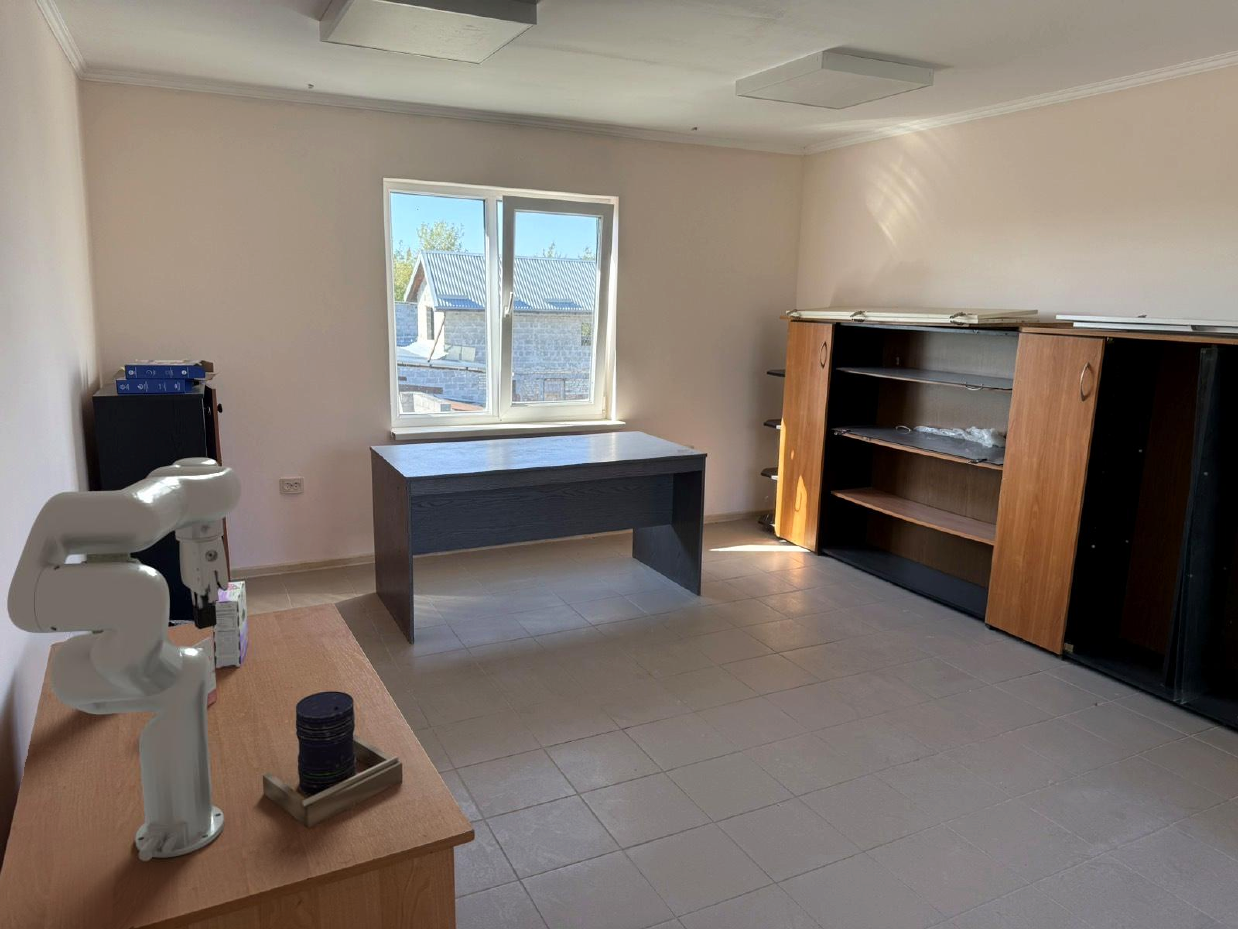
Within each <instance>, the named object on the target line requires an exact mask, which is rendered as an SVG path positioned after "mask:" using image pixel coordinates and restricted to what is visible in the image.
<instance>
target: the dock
mask: <svg viewBox="0 0 1238 929" xmlns="http://www.w3.org/2000/svg"><path fill="white" fill-rule="evenodd" d="M353 744H354V747H355V753H356V755H355V756H356V760H359V761H361V762H362V763H364V764H366V765H367V766H369V768H368V769H366V770H364V771H361V772H359V773H357V774H356V775H355V776H353V777H351V778H349V779H347V780H345V781H343V782H341V783H339V784H337V785H335V786H332V787H330V788H328V789H326V790H324V791H322V792H320V793H318V794H316V795H314V796H312V795H311V796H310V797H308V798H306V797H304V796H303V795H301V794H300V793H299V792H297V791H295V790H294V789H292V788H291V787H290V786H289V785H287V784H286V783H285V782H283V781H282V780H281V779H279V778H278V777H276V776H275V775H273V774H272V773H271V772H266V773H265V774H263V775H262V784H263V785H262V786H263V791H262V792H263V794H264V795H265V796H266V797H268V798H269V800H272V801H273V802H274V803H276V804H277V805H278V807H281V808H282V809H283V810H285V811H286V812H287V813H289V814H290V815H291V816H292V817H294V818H295V819H296V820H298V821H299V822H300V823H302V824H303V825H304V826H305V827H307V828H308V829H311V828H314V827H315V826H317V825H319V824H321V823H322V822H323V823H324V822H325V821H327V820H329V819H330V818H332V817H335V816H336V814H337V815H338V814H340V813H342V812H344V811H346V810H348V809H350V808H352V807H354V806H355V805H354V804H356V805H358V804H360V803H362V802H364V801H366V800H367V798H368V799H369V797H370V798H372V797H374V796H375V795H378V794H379V793H381V792H383V791H385V790H387V789H389V788H391V787H393V786H394V784H395V785H396V784H399V783H401V782H402V780H403V762H402V761H400V760H399V756H398V755H395V756H391V755H390V754H388V753H386V752H384V750H381V748H380V749H379V748H378V747H376V746H374V745H373V744H371V743H370V742H368V741H366V740H365V739H363V738H361V737H359V736H358V735H357V734H353ZM388 787H389V788H388ZM361 801H362V802H361ZM359 802H360V803H359ZM357 803H358V804H357ZM353 805H354V806H353ZM351 806H352V807H351ZM349 807H350V808H349ZM347 808H348V809H347ZM345 809H346V810H345ZM341 811H342V812H341Z"/></svg>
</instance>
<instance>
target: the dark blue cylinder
mask: <svg viewBox="0 0 1238 929" xmlns="http://www.w3.org/2000/svg"><path fill="white" fill-rule="evenodd" d="M354 701H355V700H354V698H353V696H352V695H351V694H349V693H346V692H343V691H336V690H333V691H332V690H331V691H330V690H329V691H321V692H316V693H313V694H309V695H308V696H305V697H303V698H301V699H300V700H299V701H298V702H297V703H296V706H295V729H296V732H295V734H296V738H297V741H298V751H299V752H298V756H297V774H298V779H299V780H298V782H299V783H298V786H299V790H301V792H302V793H304V794H306V795H308V796H311V797H312V796H314V795H316V794H318V793H320V792H322V791H324V790H326V789H328V788H330V787H332V786H335V785H337V784H339V783H341V782H343V781H345V780H347V779H349V778H351V777H353V776H355V775H357V774H356V769H357V768H356V766H357V758H356V756H355V755H356V753H355V747H354V744H353V735H354V732H355V727H356V723H355V720H356V718H355V714H356V713H355V708H354V705H355V703H354Z"/></svg>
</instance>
